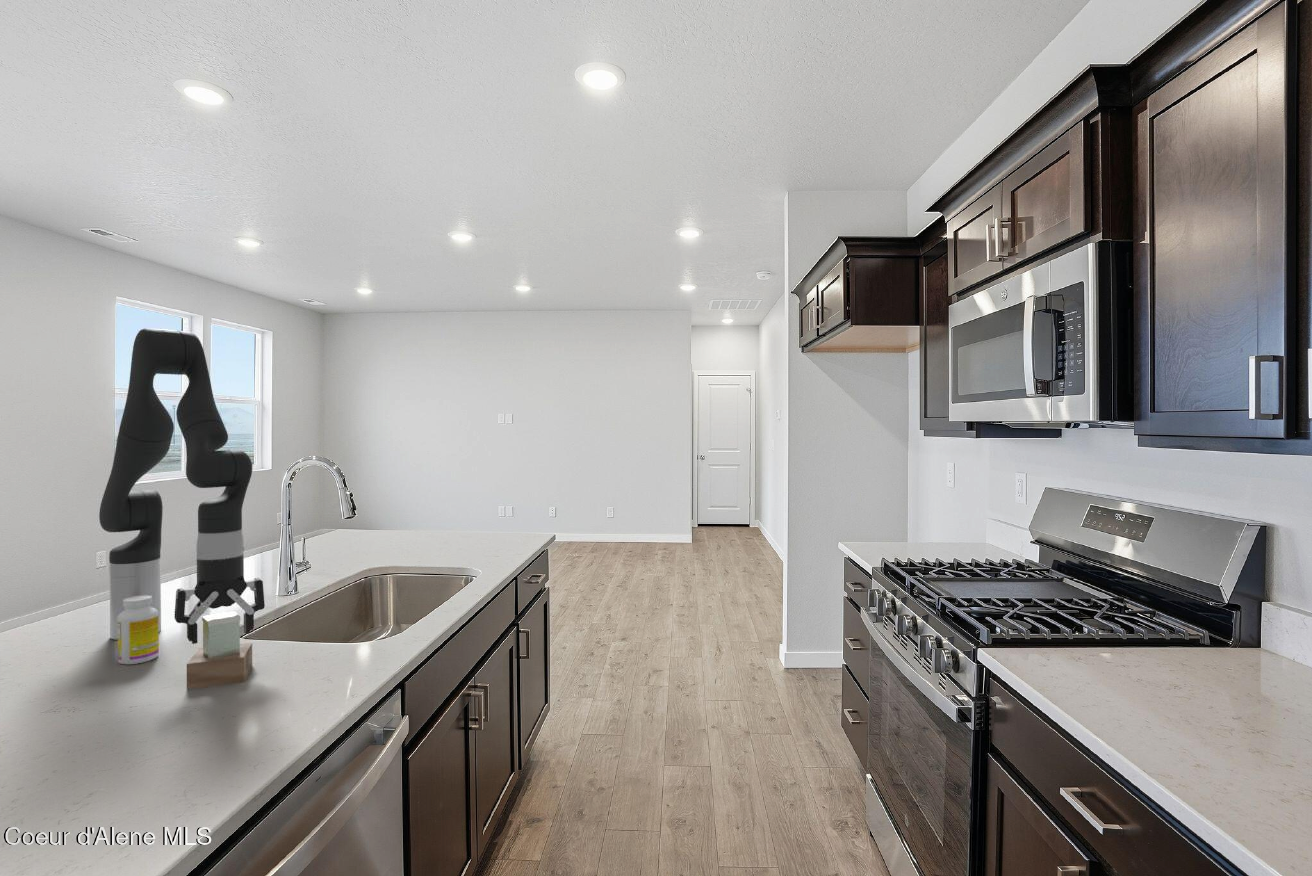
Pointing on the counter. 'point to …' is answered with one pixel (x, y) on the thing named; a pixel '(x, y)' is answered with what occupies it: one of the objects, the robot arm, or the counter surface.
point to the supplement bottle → (137, 631)
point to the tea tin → (221, 634)
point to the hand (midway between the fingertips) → (221, 637)
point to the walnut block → (219, 668)
